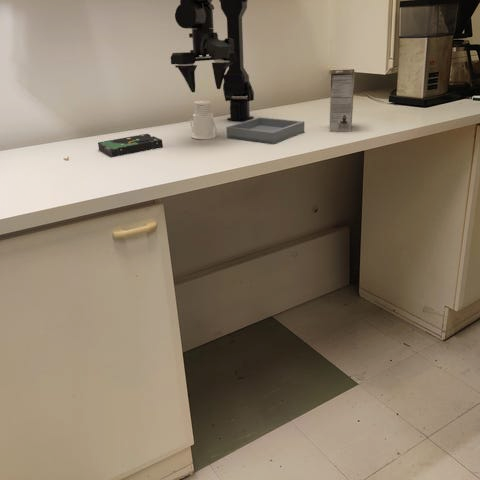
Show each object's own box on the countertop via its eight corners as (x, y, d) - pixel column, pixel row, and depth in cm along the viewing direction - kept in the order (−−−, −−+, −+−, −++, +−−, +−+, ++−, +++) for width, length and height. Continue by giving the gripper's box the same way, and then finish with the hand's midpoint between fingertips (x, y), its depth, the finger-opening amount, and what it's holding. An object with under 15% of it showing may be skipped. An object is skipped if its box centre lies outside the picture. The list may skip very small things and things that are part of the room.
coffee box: (330, 125, 147) (332, 69, 140) (351, 124, 145) (354, 68, 139) (329, 131, 139) (330, 73, 132) (351, 131, 137) (354, 72, 130)
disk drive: (148, 143, 139) (98, 151, 132) (147, 133, 138) (96, 141, 131) (164, 149, 131) (112, 159, 124) (162, 139, 130) (110, 148, 123)
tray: (259, 126, 149) (259, 117, 148) (304, 132, 140) (304, 121, 138) (227, 137, 138) (226, 127, 136) (273, 144, 128) (273, 132, 127)
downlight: (185, 138, 139) (184, 103, 134) (197, 133, 145) (195, 99, 140) (210, 141, 136) (209, 105, 132) (221, 135, 142) (220, 101, 137)
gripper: (194, 28, 115) (199, 95, 121) (249, 27, 127) (250, 88, 133) (166, 29, 122) (172, 93, 128) (221, 28, 134) (223, 87, 140)
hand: (206, 90), depth 132 cm, fingers open, 9 cm apart
